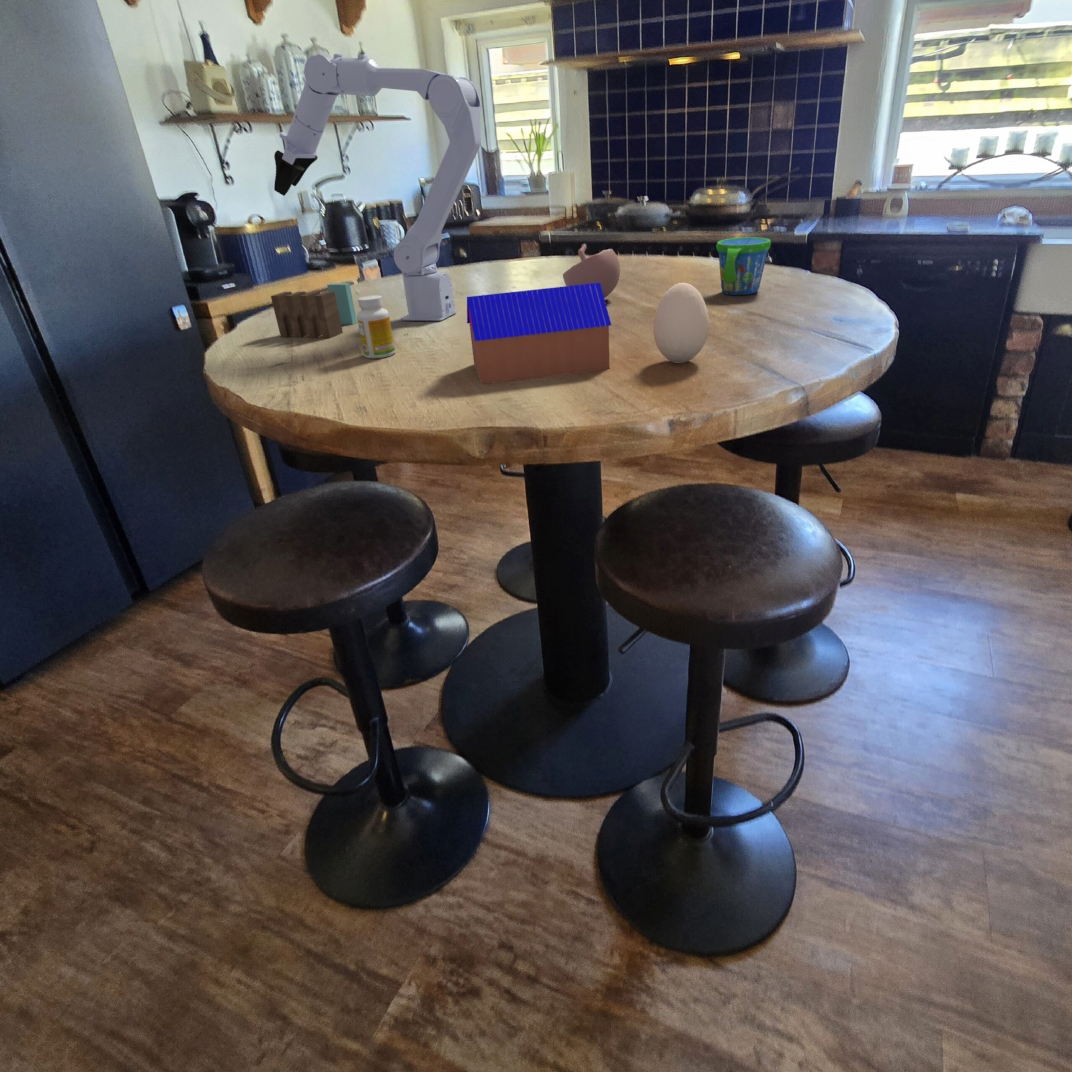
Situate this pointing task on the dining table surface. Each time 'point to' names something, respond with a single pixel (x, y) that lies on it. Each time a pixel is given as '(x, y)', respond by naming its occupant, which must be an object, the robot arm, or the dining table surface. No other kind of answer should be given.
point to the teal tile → (344, 302)
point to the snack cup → (742, 264)
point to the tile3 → (311, 314)
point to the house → (539, 332)
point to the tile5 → (282, 314)
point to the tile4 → (296, 314)
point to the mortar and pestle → (595, 270)
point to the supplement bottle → (375, 328)
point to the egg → (681, 323)
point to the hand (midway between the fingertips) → (285, 187)
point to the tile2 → (328, 314)
